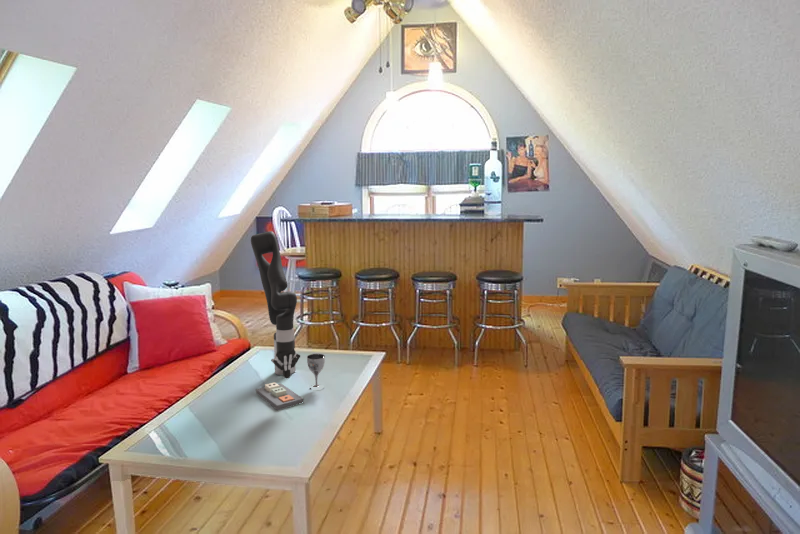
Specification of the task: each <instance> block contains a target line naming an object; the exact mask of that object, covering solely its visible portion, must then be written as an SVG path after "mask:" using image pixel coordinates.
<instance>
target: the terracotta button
mask: <svg viewBox="0 0 800 534" xmlns="http://www.w3.org/2000/svg"><path fill="white" fill-rule="evenodd" d="M279 400H280V401H282V402H283V403H284V402H288V401H292V400H294V398H293V397H291V396H290V395H286V396H282V397H279Z"/></svg>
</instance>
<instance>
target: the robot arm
mask: <svg viewBox="0 0 800 534" xmlns="http://www.w3.org/2000/svg"><path fill="white" fill-rule="evenodd" d="M250 244H251V248H252V251H253V254H254V258H255V260H256V264H257V267H258V271H259V275H260V280H261V285H262V287H263V291H264V294H265V299H266V303H267V310H268V318H269V321H270V323H271V324H272V325H273V326H275V328H276V329H275V332H274V334H273V350H274V351H273V355H274V358H271V359H270V361H271V362H272V364H274V374H276V375H278V376H282V377H283V378H284V379H289V378H290V377H291V374H293V373H296V372H295V371H296V364H297V363H298V361H299V360H300V358H301V355H300V354H299V353H297V352H296V348H295V347H296V345H295V330H294V317H295V316H294V315H295V310H296V307H297V305H298V304H297V303H298V297H297V295H296V293H295V291H285V290H287V288H288V281H287V278H286V274H285V272H284V269H283V262H282V257H281V256H282V255H281V252H280V247H279V243H278V238H277V236H276V234H275V232H273V230H271V231H270V230H269V231H265V232H261V233H256V234H253V235H251V237H250ZM269 253H272V257H271V260H270V262H269V261H268V260H267V259H266V258H265V257H264V255H266V254H269Z"/></svg>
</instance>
